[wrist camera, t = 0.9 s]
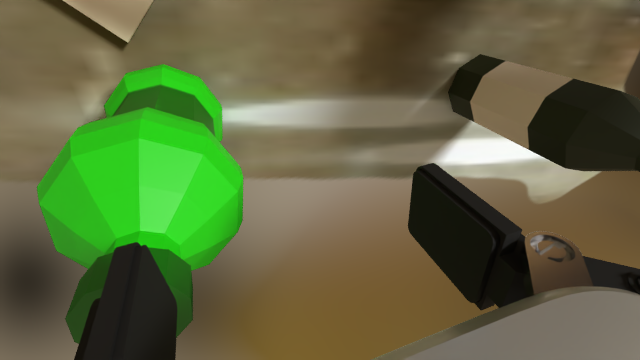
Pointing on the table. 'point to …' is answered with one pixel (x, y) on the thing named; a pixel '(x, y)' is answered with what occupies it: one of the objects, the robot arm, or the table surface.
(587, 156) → the wine bottle
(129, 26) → the board
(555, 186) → the table surface
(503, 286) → the robot arm
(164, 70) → the plastic bottle
